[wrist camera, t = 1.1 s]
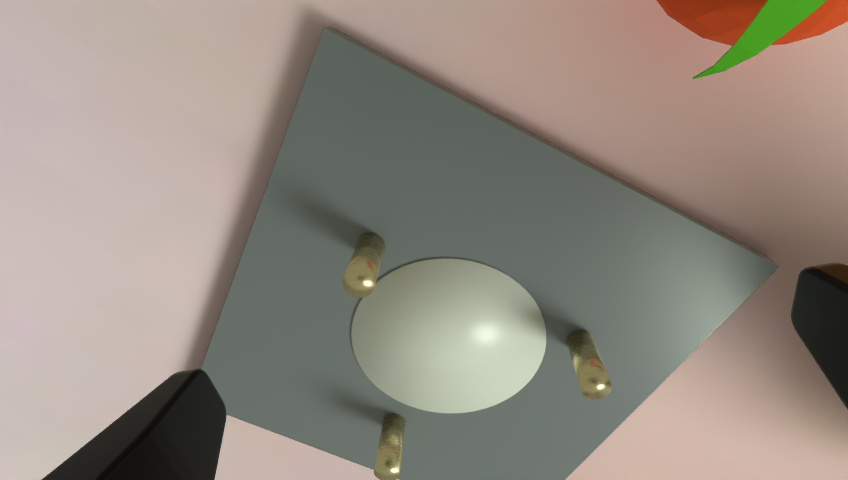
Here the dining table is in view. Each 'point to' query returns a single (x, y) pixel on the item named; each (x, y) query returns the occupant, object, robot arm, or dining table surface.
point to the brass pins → (389, 453)
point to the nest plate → (456, 283)
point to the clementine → (755, 23)
